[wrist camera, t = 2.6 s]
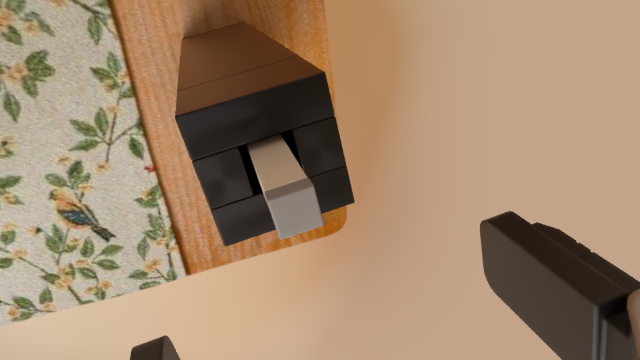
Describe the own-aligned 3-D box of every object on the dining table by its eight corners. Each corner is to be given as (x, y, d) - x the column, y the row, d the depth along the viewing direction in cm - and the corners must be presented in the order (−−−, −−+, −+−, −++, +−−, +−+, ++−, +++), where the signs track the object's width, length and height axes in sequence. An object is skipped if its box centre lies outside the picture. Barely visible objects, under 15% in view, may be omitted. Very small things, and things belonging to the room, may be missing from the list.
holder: (203, 101, 48) (224, 247, 21) (181, 39, 45) (174, 116, 19) (263, 83, 49) (355, 202, 22) (245, 21, 46) (325, 71, 19)
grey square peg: (247, 150, 25) (280, 241, 16) (237, 121, 24) (267, 200, 15) (276, 141, 25) (324, 225, 16) (267, 112, 25) (314, 185, 16)
